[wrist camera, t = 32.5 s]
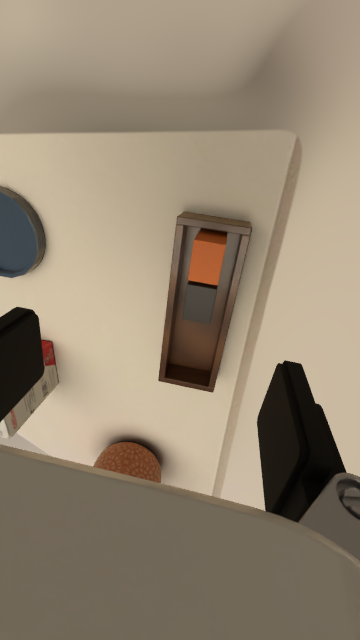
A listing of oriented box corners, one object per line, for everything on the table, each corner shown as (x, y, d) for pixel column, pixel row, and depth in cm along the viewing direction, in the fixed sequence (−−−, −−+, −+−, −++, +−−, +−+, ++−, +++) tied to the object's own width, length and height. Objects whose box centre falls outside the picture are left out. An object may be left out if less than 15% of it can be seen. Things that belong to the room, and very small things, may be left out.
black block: (220, 268, 34) (217, 289, 28) (214, 299, 36) (209, 324, 30) (195, 264, 35) (187, 284, 28) (190, 294, 36) (181, 319, 30)
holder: (183, 211, 33) (177, 216, 29) (250, 221, 32) (252, 228, 28) (164, 363, 43) (158, 381, 39) (215, 374, 42) (213, 392, 38)
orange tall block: (227, 231, 32) (226, 244, 26) (220, 265, 34) (217, 285, 28) (201, 227, 32) (193, 239, 26) (196, 261, 34) (187, 280, 28)
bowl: (-50, 200, 37) (-63, 202, 35) (18, 174, 34) (8, 174, 32) (-5, 280, 41) (-14, 284, 40) (59, 263, 38) (52, 266, 37)
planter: (89, 444, 54) (58, 502, 45) (137, 423, 49) (114, 483, 40) (130, 484, 58) (110, 546, 48) (179, 467, 53) (167, 533, 43)
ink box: (23, 336, 45) (-41, 385, 35) (52, 340, 44) (-4, 391, 34) (32, 379, 49) (-23, 434, 39) (59, 383, 48) (11, 441, 38)
